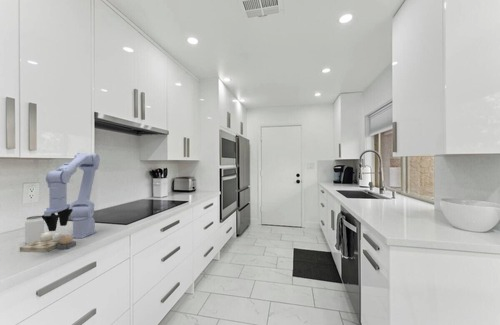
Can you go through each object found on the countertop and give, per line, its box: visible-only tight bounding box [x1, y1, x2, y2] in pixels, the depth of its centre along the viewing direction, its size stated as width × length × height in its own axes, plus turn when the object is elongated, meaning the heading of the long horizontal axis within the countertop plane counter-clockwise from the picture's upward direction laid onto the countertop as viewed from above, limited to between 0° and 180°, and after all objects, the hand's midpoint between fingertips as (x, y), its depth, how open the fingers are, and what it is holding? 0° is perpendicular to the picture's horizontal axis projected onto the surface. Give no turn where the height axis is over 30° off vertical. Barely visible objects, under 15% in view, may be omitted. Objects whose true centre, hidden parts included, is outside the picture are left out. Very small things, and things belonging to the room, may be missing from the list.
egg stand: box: [56, 240, 77, 250], centre depth 99 cm, size 5×5×2 cm
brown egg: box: [60, 234, 74, 245], centre depth 99 cm, size 4×4×4 cm
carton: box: [19, 239, 61, 253], centre depth 100 cm, size 12×12×2 cm
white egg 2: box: [52, 231, 66, 242], centre depth 102 cm, size 4×4×4 cm
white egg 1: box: [40, 231, 54, 241], centre depth 103 cm, size 4×4×4 cm
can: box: [24, 215, 45, 245], centre depth 105 cm, size 6×6×12 cm
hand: (58, 228), depth 96 cm, fingers open, 7 cm apart
